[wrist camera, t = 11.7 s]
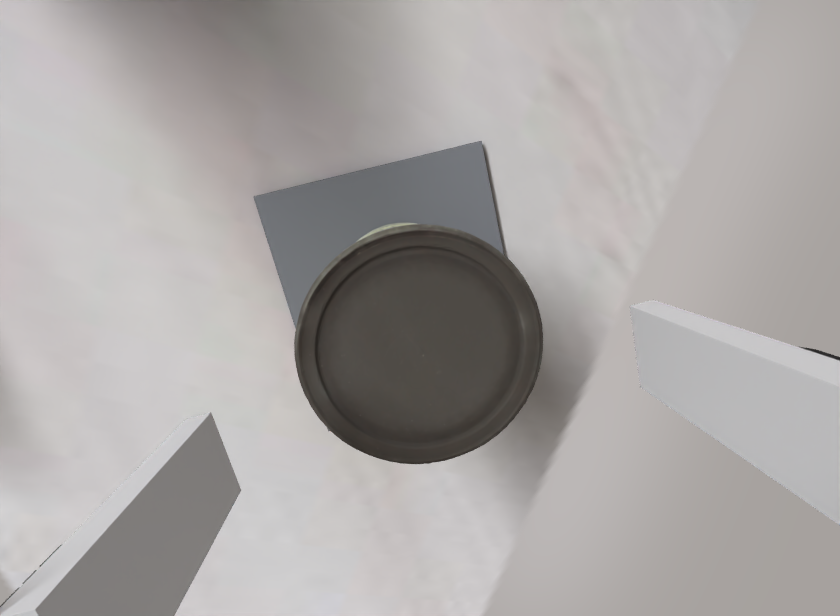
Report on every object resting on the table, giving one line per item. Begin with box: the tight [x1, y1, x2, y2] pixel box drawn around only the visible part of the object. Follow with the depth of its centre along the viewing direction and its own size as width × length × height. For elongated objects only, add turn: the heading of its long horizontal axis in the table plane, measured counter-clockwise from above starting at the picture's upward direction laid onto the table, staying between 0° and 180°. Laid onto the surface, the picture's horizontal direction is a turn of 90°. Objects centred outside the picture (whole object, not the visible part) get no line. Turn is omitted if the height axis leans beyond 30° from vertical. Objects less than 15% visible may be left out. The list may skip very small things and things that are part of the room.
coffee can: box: [294, 223, 543, 464], centre depth 25 cm, size 10×10×14 cm
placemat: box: [254, 141, 504, 431], centre depth 32 cm, size 16×18×1 cm
